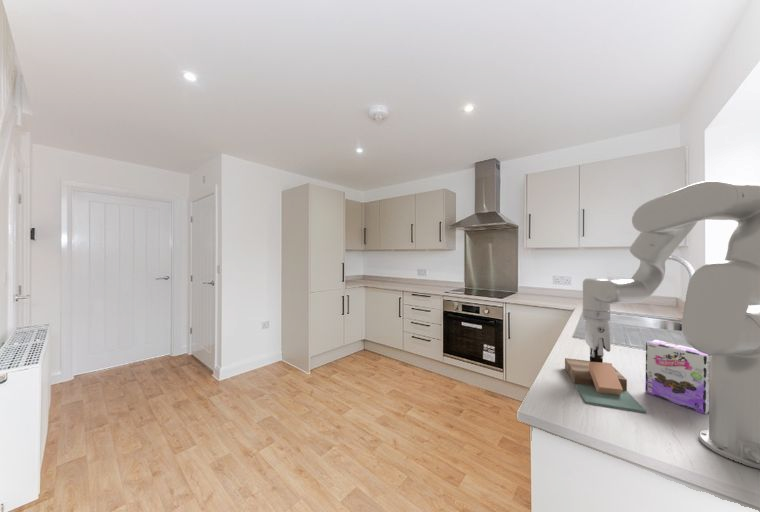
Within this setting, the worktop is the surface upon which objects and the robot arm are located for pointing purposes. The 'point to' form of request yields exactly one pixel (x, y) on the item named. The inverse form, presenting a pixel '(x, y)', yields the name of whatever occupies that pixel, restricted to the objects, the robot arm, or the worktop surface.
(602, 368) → the peach rectangular block
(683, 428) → the worktop surface
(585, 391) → the mat
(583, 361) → the brown block
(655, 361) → the candy box
